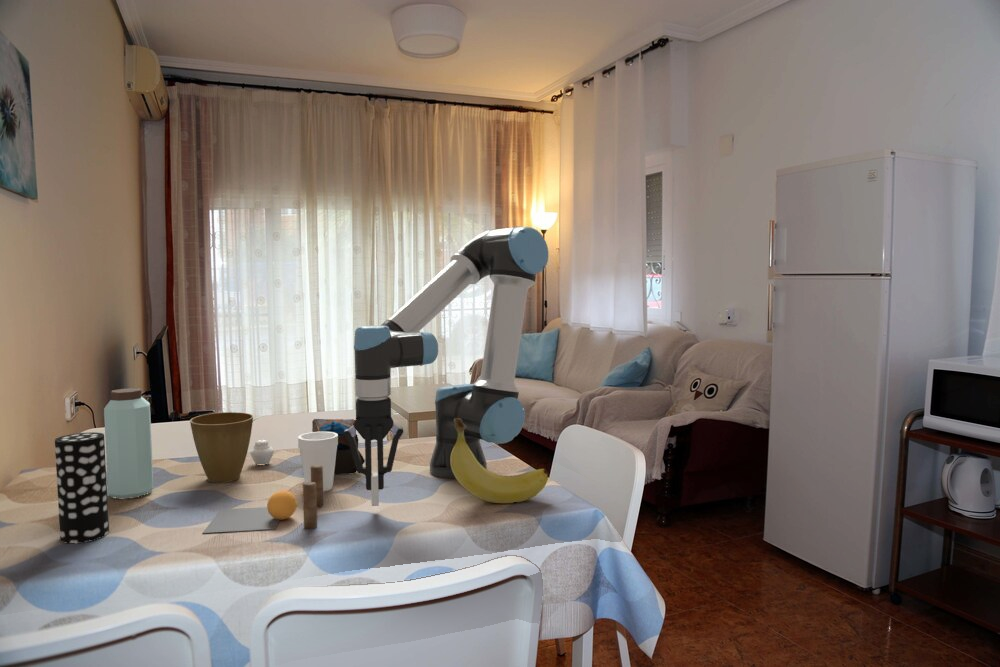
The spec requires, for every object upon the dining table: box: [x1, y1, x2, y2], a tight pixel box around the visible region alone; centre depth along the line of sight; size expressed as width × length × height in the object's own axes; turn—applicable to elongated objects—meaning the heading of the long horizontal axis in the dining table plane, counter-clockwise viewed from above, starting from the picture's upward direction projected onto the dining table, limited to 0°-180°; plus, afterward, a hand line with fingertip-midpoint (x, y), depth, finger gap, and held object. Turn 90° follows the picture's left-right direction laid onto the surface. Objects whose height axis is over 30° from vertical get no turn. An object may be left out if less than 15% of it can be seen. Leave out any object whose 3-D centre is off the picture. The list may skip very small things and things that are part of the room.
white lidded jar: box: [249, 439, 275, 465], centre depth 186 cm, size 6×6×7 cm
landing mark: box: [202, 506, 280, 535], centre depth 143 cm, size 14×14×1 cm
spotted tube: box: [54, 431, 110, 544], centre depth 133 cm, size 8×8×20 cm
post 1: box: [302, 482, 318, 530], centre depth 138 cm, size 3×3×9 cm
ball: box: [266, 490, 298, 521], centre depth 143 cm, size 6×6×6 cm
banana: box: [450, 418, 550, 504], centre depth 153 cm, size 23×6×20 cm, turn 100°
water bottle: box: [103, 387, 154, 499], centre depth 160 cm, size 10×10×25 cm
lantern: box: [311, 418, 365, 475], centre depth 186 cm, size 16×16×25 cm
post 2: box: [311, 465, 325, 508], centre depth 151 cm, size 3×3×9 cm
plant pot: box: [189, 411, 254, 483], centre depth 172 cm, size 15×15×16 cm
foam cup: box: [297, 431, 338, 492], centre depth 164 cm, size 10×9×13 cm
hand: (375, 503), depth 147 cm, fingers closed
